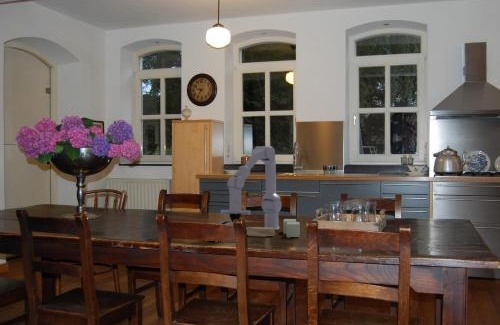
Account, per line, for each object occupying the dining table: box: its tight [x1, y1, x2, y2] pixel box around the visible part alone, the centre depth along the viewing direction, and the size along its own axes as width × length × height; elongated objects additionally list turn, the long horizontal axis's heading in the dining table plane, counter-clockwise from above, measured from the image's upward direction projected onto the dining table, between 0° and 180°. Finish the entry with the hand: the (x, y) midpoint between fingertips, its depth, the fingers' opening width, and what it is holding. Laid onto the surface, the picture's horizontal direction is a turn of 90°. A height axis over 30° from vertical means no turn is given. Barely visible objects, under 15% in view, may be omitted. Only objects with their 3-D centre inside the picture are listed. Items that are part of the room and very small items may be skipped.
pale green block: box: [282, 218, 297, 235], centre depth 243 cm, size 8×6×6 cm
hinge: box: [217, 219, 233, 225], centre depth 223 cm, size 17×5×10 cm, turn 155°
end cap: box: [286, 221, 301, 238], centre depth 233 cm, size 8×6×6 cm
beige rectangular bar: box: [245, 226, 276, 237], centre depth 235 cm, size 4×14×4 cm, turn 78°
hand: (235, 229), depth 236 cm, fingers closed
